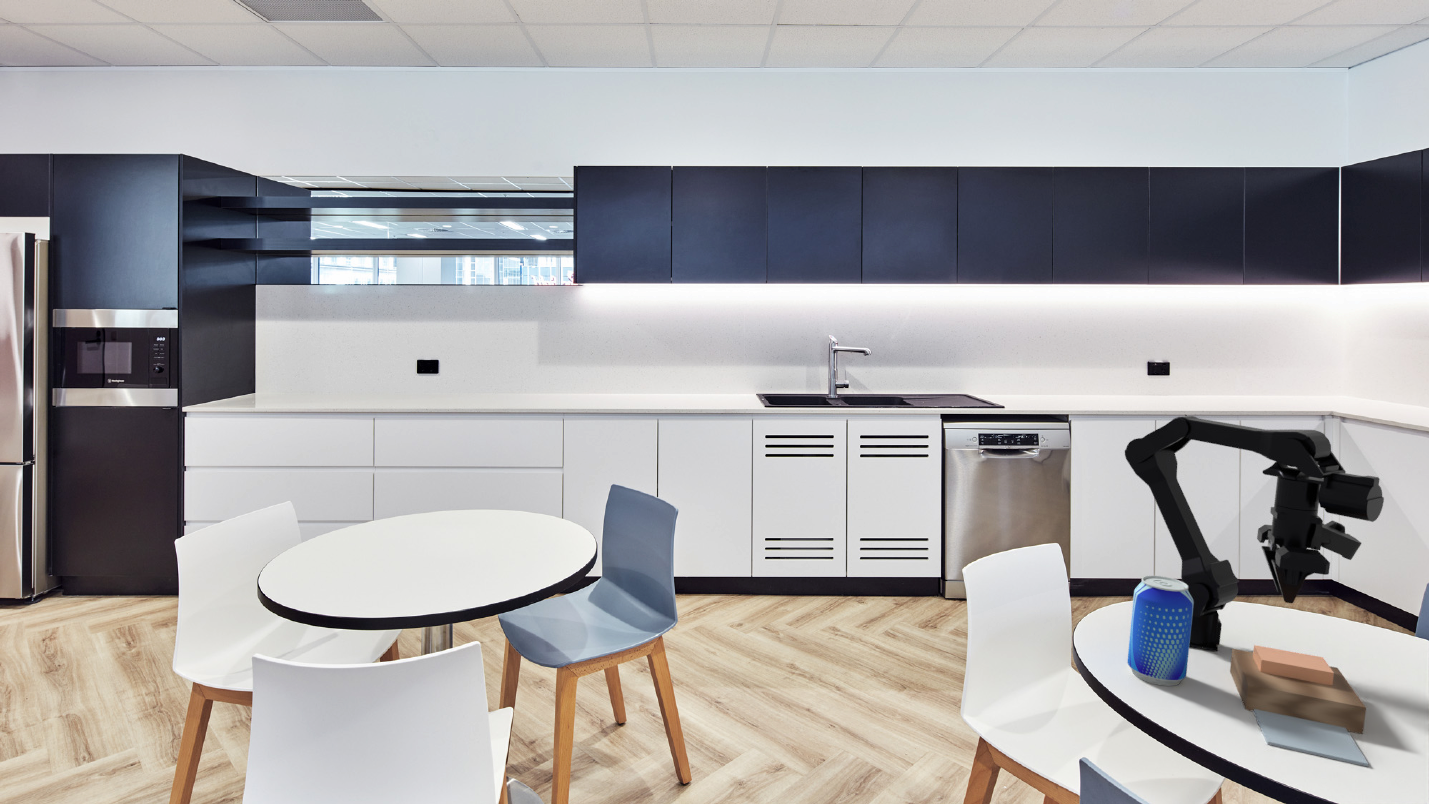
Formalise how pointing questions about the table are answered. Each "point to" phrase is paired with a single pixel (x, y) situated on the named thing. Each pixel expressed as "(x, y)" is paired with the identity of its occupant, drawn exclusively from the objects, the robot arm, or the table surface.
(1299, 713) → the brown box
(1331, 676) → the peach rectangular block
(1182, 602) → the beer can
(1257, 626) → the table surface
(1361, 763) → the mat
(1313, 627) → the table surface
